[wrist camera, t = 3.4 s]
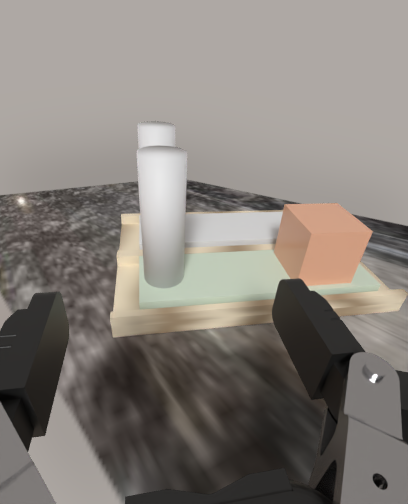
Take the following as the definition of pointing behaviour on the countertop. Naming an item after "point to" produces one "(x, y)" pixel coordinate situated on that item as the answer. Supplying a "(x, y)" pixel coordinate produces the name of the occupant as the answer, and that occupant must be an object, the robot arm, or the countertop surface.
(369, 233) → the cube
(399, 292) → the board
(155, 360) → the countertop surface
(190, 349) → the countertop surface
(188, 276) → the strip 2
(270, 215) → the strip
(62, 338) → the robot arm
